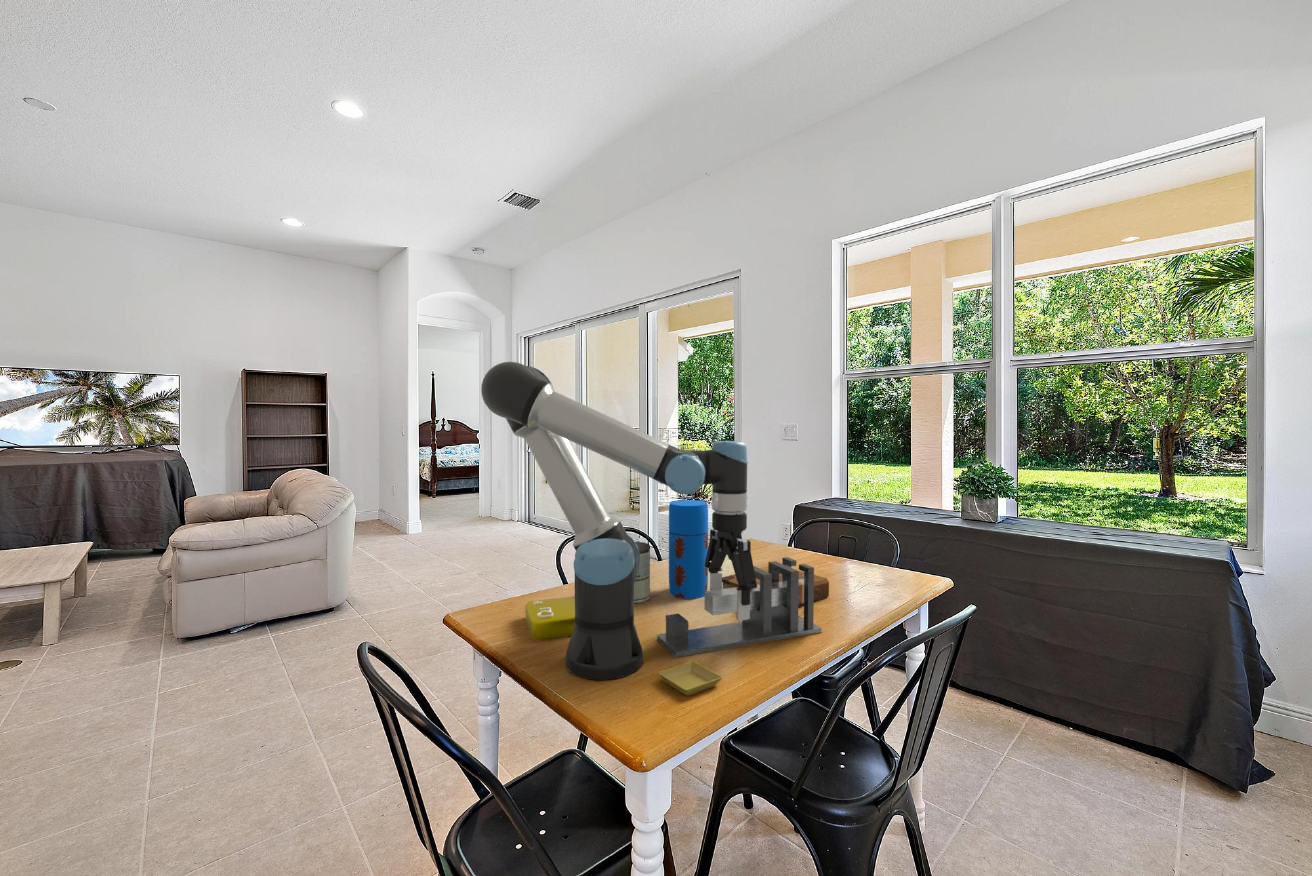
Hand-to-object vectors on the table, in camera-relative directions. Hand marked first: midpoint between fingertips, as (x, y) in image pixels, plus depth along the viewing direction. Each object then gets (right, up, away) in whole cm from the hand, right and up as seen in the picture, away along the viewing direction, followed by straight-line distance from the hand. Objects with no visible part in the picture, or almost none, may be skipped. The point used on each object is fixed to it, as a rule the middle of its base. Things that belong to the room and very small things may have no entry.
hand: (728, 609), depth 122 cm
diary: (+16, -6, +28) cm, 33 cm away
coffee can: (-23, -5, +28) cm, 36 cm away
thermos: (-7, -5, +32) cm, 33 cm away
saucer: (-10, -7, -21) cm, 24 cm away
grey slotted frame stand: (+3, -6, +1) cm, 7 cm away
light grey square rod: (+7, 0, +3) cm, 8 cm away
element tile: (-38, -6, +8) cm, 40 cm away
